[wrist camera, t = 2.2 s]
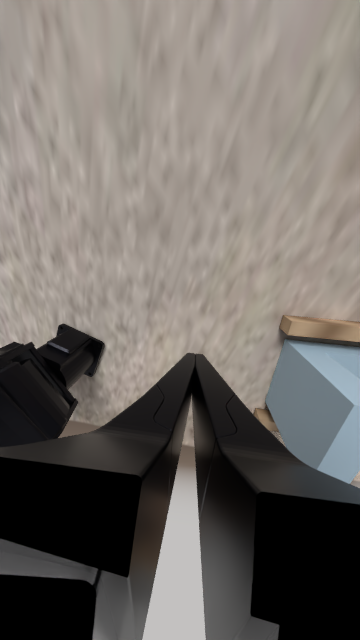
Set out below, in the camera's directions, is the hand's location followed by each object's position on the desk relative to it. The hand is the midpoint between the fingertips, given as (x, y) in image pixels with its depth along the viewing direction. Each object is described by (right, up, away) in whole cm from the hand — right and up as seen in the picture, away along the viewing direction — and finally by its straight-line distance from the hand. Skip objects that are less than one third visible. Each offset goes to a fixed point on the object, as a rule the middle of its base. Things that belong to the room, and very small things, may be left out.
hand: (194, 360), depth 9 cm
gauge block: (+17, -5, +13) cm, 22 cm away
